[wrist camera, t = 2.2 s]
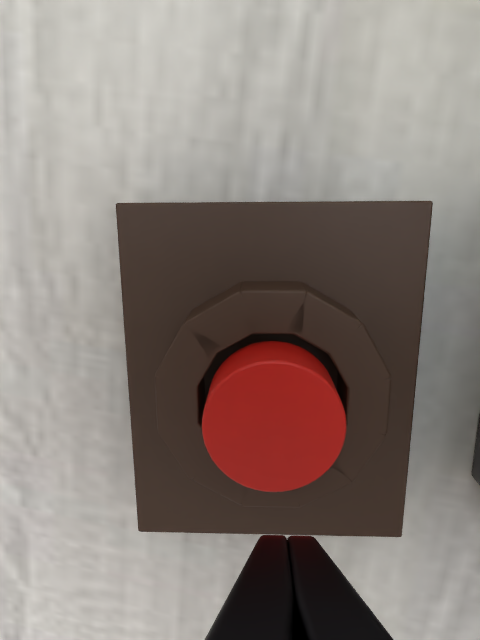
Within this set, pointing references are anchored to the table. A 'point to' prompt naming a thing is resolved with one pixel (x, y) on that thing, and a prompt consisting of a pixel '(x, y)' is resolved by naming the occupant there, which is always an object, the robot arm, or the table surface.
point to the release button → (273, 417)
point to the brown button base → (272, 325)
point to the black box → (477, 457)
